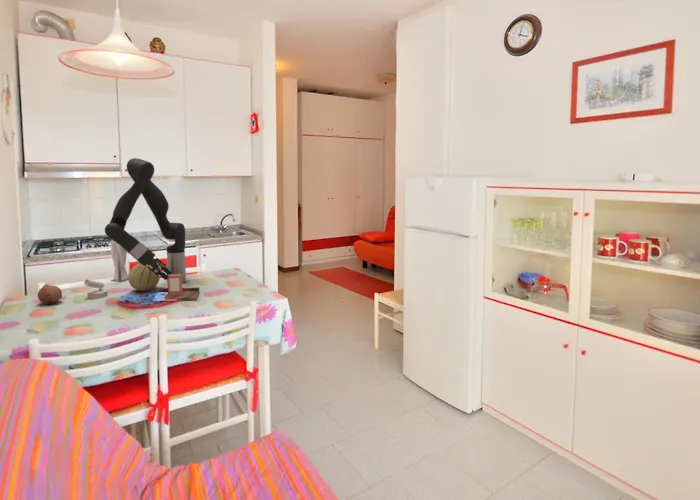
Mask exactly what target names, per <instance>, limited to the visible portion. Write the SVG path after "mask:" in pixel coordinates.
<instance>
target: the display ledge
mask: <svg viewBox="0 0 700 500" xmlns="http://www.w3.org/2000/svg"><path fill="white" fill-rule="evenodd" d="M157 292H168V288H157V289H156V293H157ZM182 292H183V294H182V295H173V296H169V292H168V294H167V297H166V298H165V299H177V301H176V302H190V301H191V302H193V301H197V299H198V297H199V295H200V287H198V286H197V287H182Z"/></svg>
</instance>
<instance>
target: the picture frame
mask: <svg viewBox="0 0 700 500" xmlns="http://www.w3.org/2000/svg"><path fill="white" fill-rule="evenodd" d="M168 276H169V278H168V282H167V287H168V292H169V296H173V295H182V294H183V292H182V288H183V283H182V274H169V275H168Z"/></svg>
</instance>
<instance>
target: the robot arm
mask: <svg viewBox="0 0 700 500" xmlns="http://www.w3.org/2000/svg"><path fill="white" fill-rule="evenodd" d="M126 171H127V174H128V175H129V177H130V178H131V179H132V181H133V184H132V185H131V187H130V188H128V189H127V191H126V192H124V194H122V195H121V196H120V197H119V199H118V201H117V203H116V205H115V207H114V210H113V211H112V217H111V219H110V221H109V223H107V224H106V225H105V227H104V234H105V235H106V236H107V237H108V238H109V239H111V241H112V240H113V241H115V242H116V243H118V244H119V245H120V246H122V247H123V248H124V249H125V250H126V253H128V254H129V255H131V256H132V258H134V259H135V260H136V261H137V262H138V263H141V264H142V265H143V266H146V265H147V264H148V265H149V266H148V268H149V269H150V270H151V271H152V272H153V273H154V274H156V275H159V276H160V277H161V278H162V279H163V280H164V281H166V282H167V283H168V278H169V276H168V275H169V274H182V284H184V283H186V282H187V270H186V269H187V267H186V249H185V248H186V227H185V225H184V224H183V223H181V222H171V221H170V220H169V219H168V216H167V214H168V211H169V207H170V206H169V202H168V200H167V198H166V196H165V194H164V193H163V192H162V190H161V189H160V188H159V187H158V186H157V185H156V184H155V183H154V181H152V180H151V179H152V178H153V176H154V173H155V166H154V165H153V163H152V162H149V161H147V160H144V159H141V158H136V157H135V158H134V157H133V158H131V159H128V161H127V163H126ZM141 195H142V196H143V198H144V200H145V201H146V204H147V206H148V208H149V209H150V211H151V212H152V215H153V217H154V218H155V220H156V222H157V225H158V227H159V230H160V233H161V234H162V236H163V237H164V238H165V239H167V240H172V241H174V243H173V244H172V245H169V246H166V259H167V264H166V263H164V262H163V261H162V260H160V258H158V257H156V253H154V252H153V250H151V249H149V248H148V247H147V245H145V244H143V243H142V242H141V241H140V240H138V239H137V238H136V237H134V236H133V235H131V234H130V233H128V231H126V230H125V228H126V225H127V223H128V219H129V217H130V215H131V214H132V211H133V209H134V207H135V205H136V203H137V201H138V199H139V198H140V196H141ZM155 257H156V258H155Z"/></svg>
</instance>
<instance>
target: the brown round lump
mask: <svg viewBox="0 0 700 500" xmlns="http://www.w3.org/2000/svg"><path fill="white" fill-rule="evenodd" d="M62 298H63V292H62V290H61V288H60V287H59V286H57V285H49V284H47V283H45V284H44V285H42V287H41V288H39V290H38V292H37V299H38V300H39V301H40V302H41V303H43V304H46V305H54V304H57V303H58V302H59V301H60V300H61V299H62Z"/></svg>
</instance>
